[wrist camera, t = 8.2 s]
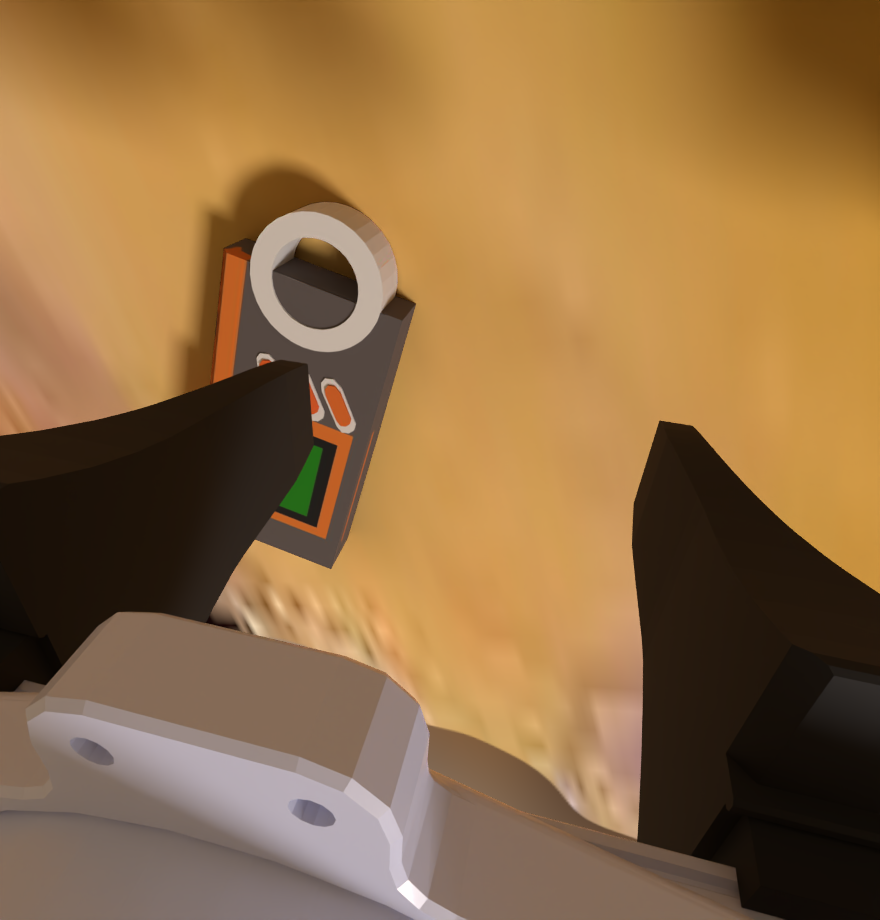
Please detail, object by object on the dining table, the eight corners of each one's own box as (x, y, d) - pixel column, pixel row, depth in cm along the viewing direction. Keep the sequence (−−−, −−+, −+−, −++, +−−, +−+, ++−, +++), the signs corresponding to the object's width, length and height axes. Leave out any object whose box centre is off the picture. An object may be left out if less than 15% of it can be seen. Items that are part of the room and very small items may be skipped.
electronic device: (419, 253, 19) (326, 580, 27) (440, 233, 21) (348, 538, 29) (215, 175, 19) (185, 524, 27) (259, 164, 21) (219, 488, 30)
